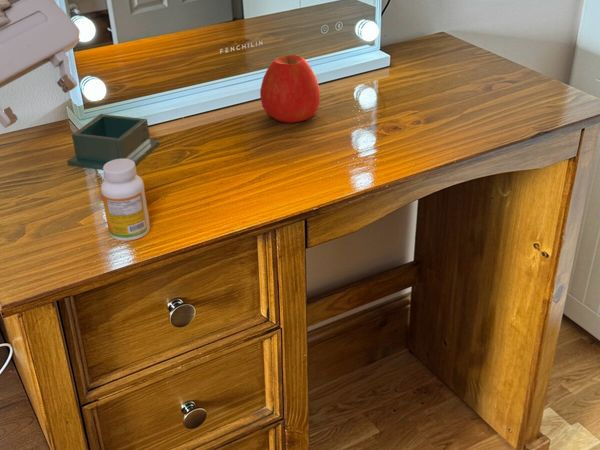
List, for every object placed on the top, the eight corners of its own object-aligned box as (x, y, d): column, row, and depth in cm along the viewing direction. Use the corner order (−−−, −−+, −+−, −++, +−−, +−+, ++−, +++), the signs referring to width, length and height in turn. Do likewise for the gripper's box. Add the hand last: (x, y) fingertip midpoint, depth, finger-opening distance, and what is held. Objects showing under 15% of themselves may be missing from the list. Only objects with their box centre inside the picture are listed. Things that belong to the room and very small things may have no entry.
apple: (280, 100, 138) (277, 43, 133) (331, 109, 134) (330, 51, 129) (251, 121, 131) (246, 62, 125) (304, 131, 126) (302, 70, 121)
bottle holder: (68, 165, 118) (62, 136, 116) (103, 137, 127) (98, 110, 124) (127, 173, 115) (122, 144, 113) (159, 144, 124) (155, 117, 121)
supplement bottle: (119, 219, 104) (107, 154, 98) (156, 222, 102) (147, 157, 97) (102, 240, 99) (89, 173, 94) (141, 243, 98) (130, 176, 93)
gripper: (33, -8, 103) (96, 78, 105) (-105, 58, 91) (-31, 153, 94) (46, -31, 98) (112, 60, 100) (-99, 35, 86) (-20, 137, 89)
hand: (42, 105), depth 97 cm, fingers open, 8 cm apart
